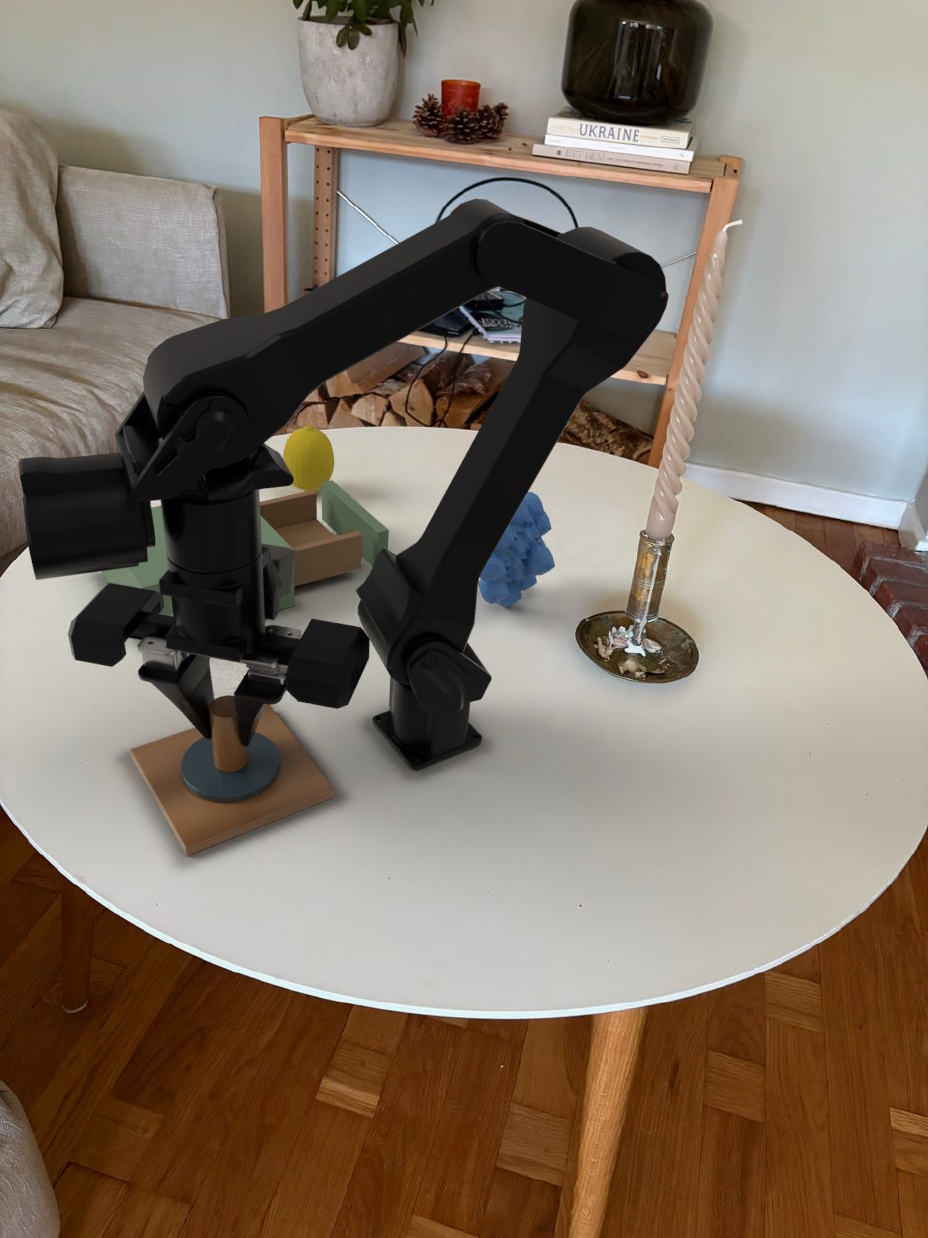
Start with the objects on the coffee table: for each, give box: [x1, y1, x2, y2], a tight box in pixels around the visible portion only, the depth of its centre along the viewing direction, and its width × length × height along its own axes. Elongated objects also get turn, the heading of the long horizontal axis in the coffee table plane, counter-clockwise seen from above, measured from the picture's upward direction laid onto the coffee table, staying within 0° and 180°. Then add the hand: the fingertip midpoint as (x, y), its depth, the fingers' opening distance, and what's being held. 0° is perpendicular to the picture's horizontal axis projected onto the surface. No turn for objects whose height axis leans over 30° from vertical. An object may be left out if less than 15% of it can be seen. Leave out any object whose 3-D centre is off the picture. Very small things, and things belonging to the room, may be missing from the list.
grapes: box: [478, 491, 556, 608], centre depth 88 cm, size 12×7×12 cm, turn 148°
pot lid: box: [181, 694, 281, 802], centre depth 68 cm, size 7×7×6 cm
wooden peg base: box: [129, 704, 335, 857], centre depth 70 cm, size 11×11×1 cm
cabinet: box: [101, 505, 296, 616], centre depth 87 cm, size 14×13×6 cm
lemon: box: [282, 424, 335, 492], centre depth 104 cm, size 6×6×8 cm
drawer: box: [260, 479, 390, 588], centre depth 93 cm, size 14×11×4 cm
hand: (229, 738), depth 68 cm, fingers closed on pot lid, 2 cm apart
